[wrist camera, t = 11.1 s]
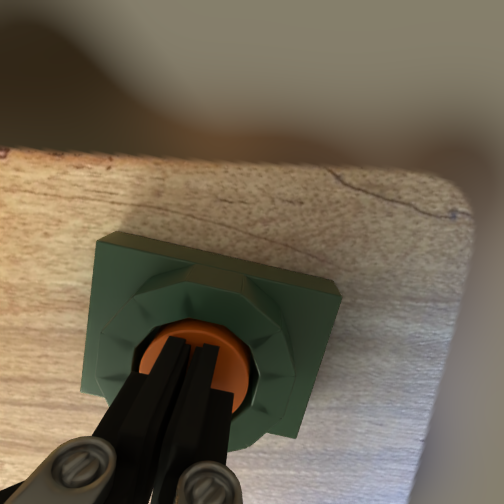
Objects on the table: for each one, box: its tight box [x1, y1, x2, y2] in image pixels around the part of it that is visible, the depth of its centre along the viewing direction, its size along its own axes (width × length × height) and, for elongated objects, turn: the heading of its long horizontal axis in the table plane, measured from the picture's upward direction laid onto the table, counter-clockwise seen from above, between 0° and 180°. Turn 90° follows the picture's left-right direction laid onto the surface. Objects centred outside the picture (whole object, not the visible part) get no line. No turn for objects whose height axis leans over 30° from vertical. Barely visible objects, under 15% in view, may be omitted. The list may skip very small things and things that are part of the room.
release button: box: [139, 318, 251, 413], centre depth 12 cm, size 4×4×2 cm
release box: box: [80, 231, 342, 452], centre depth 13 cm, size 9×6×4 cm
